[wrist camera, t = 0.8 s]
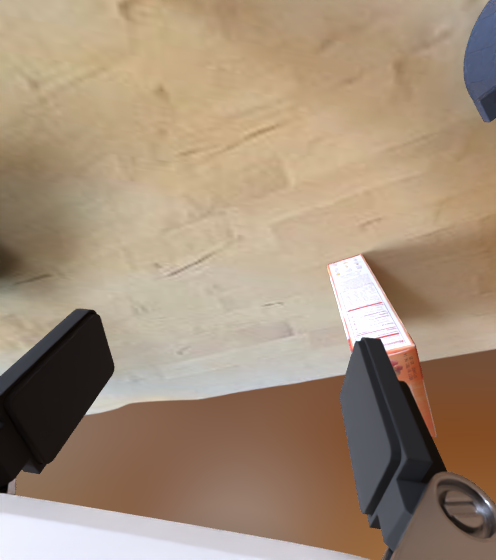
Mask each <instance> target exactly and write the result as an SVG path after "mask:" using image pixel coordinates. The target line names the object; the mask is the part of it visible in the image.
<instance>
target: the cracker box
mask: <svg viewBox="0 0 496 560" xmlns="http://www.w3.org/2000/svg"><path fill="white" fill-rule="evenodd" d="M327 268H328V272H329V275H330V279H331V282H332V285H333V289H334V292H335V296H336V299H337V303H338V306H339V310H340V313H341V317H342V320H343V324H344V328H345V331H346V335H347V338H348V342H349V346H350V350H351V353H352V350H353V347H354V343H355V341H360V340H361V338H362V337H369V338H379V339H381V341H382V343H383V345H384V347H385V350H386V352H387V354H388V357H389V359H390V362H391V364H392V366H393V369H394V371H395V373H396V376H397V378H398V380H399V381H405V382H406V383H407V385H408V386H409V388H410V390H411V392H412V395H413V397H414V399H415V401H416V403H417V406H418V408H419V410H420V412H421V415H422V417H423V419H424V421H425V423H426V426H427V428H428V430H429V432H430V434H431V437H436V436H437V435H436V431H435V426H434V422H433V418H432V414H431V410H430V406H429V401H428V397H427V393H426V389H425V385H424V380H423V376H422V370H421V366H420V362H419V358H418V353H417V349H416V345H415V343H414V341H413V340H412V338H411V337H410V335H409V333H408V332H407V330H406V328H405V326H404V325H403V323H402V321H401V320H400V318H399V316H398V315H397V313H396V311H395V310H394V308H393V306H392V305H391V303H390V301H389V299H388V298H387V296H386V294H385V292H384V291H383V289H382V287H381V286H380V284H379V282H378V280H377V279H376V277H375V275H374V274H373V272H372V270H371V268H370V267H369V265H368V264H367V262H366V260H365V258H364V257H363V255H362V254H361V255H358V256H354V257H351V258H348V259H345V260H342V261H339V262H336V263H333V264H330V265H327Z"/></svg>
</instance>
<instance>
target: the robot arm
mask: <svg viewBox="0 0 496 560" xmlns="http://www.w3.org/2000/svg"><path fill="white" fill-rule="evenodd" d="M113 372H114V363H113V359H112V356H111V353H110V349H109V346H108V342H107V339H106V335H105V332H104V328H103V325H102V321H101V318H100V316H99V315H98V314H97V313H96V312H95V311H94V310H88V309H76V310H74V311H73V312H72V313H71V314H70V315H69V316H67V317H66V318H65V319H64V320H63V321H62V322H61V323H60V324H58V325H57V326H56V327H55V328H54V329H53V330H52V331H51V332H49V333H48V334H47V335H46V336H45V337H44V338H43V339H42V340H40V341H39V342H38V343H37V344H36V345H35V346H34V347H33V348H31V349H30V350H29V351H28V352H27V353H26V354H25V355H24V356H22V357H21V358H20V359H19V360H18V361H17V362H16V363H15V364H13V365H12V366H11V367H10V368H9V369H8V370H7V371H6V372H4V373H3V374H2V375H1V376H0V560H371V559H367V558H363V557H359V556H355V555H351V554H347V553H342V552H337V551H332V550H327V549H322V548H317V547H312V546H307V545H301V544H297V543H291V542H286V541H281V540H275V539H270V538H263V537H257V536H252V535H246V534H241V533H235V532H230V531H224V530H218V529H213V528H207V527H201V526H196V525H190V524H184V523H178V522H172V521H166V520H160V519H155V518H149V517H142V516H137V515H131V514H125V513H119V512H113V511H107V510H101V509H96V508H90V507H84V506H77V505H71V504H65V503H59V502H53V501H47V500H41V499H35V498H29V497H23V496H17V495H15V492H16V476H17V475H18V474H19V472H20V471H21V470H23V471H24V472H30V473H36V474H40V473H41V471H42V470H43V469H44V467H45V466H46V464H49V463H50V462H52V461H53V459H54V458H55V457H56V455H57V454H58V453H59V451H60V450H61V448H62V447H63V445H64V444H65V443H66V441H67V440H68V438H69V437H70V435H71V434H72V432H73V431H74V429H75V428H76V427H77V425H78V423H79V422H80V421H81V419H82V418H83V416H84V415H85V414H86V412H87V411H88V409H89V408H90V406H91V405H92V403H93V402H94V401H95V399H96V398H97V396H98V395H99V393H100V392H101V390H102V389H103V388H104V386H105V385H106V383H107V382H108V380H109V379H110V377H111V376H112V374H113ZM340 402H341V408H342V413H343V419H344V424H345V429H346V435H347V441H348V446H349V451H350V457H351V462H352V468H353V473H354V478H355V484H356V489H357V495H358V500H359V505H360V509H361V512H362V513H363V514H367V516H368V521H369V526H370V527H371V528H377V529H381V531H382V535H383V540H384V542H385V543H386V545H387V546H388V547H387V549H386V551H385V553H384V555H383V557H382V559H381V560H496V505H495V503H494V502H493V501H492V500H491V499H490V497H489V496H488V495H487V494H486V493H485V492H484V491H483V490H482V489H481V488H480V487H478V486H477V485H476V484H475V483H473V482H472V481H470V480H469V479H467V478H465V477H463V476H461V475H458V474H455V473H453V472H447V470H446V468H445V466H444V463H443V461H442V459H441V457H440V455H439V452H438V450H437V448H436V446H435V443H434V441H433V439H432V437H431V434H430V432H429V430H428V428H427V426H426V423H425V421H424V419H423V417H422V415H421V412H420V410H419V408H418V406H417V403H416V401H415V399H414V397H413V395H412V392H411V390H410V388H409V386H408V385H407V383H406V382H405V381H399V380H398V378H397V376H396V373H395V371H394V369H393V366H392V364H391V362H390V359H389V357H388V354H387V352H386V350H385V347H384V345H383V343H382V341H381V339H379V338H369V337H362V338H361V340H360V341H355V343H354V347H353V350H352V354H351V358H350V361H349V365H348V368H347V372H346V375H345V379H344V383H343V386H342V390H341V395H340Z"/></svg>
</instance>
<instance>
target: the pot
mask: <svg viewBox="0 0 496 560" xmlns="http://www.w3.org/2000/svg"><path fill="white" fill-rule="evenodd" d="M464 80H465V84H466V88H467V90H468V92H469V95H470V96H471V98H472V99H473V101H474V103H475V105H476V107H477V109H478V111H479V113H480V115H481V117H482V119H483V121H484V122H491V121H492V120H494V119H495V118H496V0H490V1H489V2H488V3H487V5H486V6H485V8H484V9H483V11H482V12H481V14H480V16H479V17H478V19H477V21H476V23H475V25H474V28H473V30H472V32H471V35H470V38H469V40H468V44H467V48H466V52H465V58H464Z"/></svg>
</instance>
